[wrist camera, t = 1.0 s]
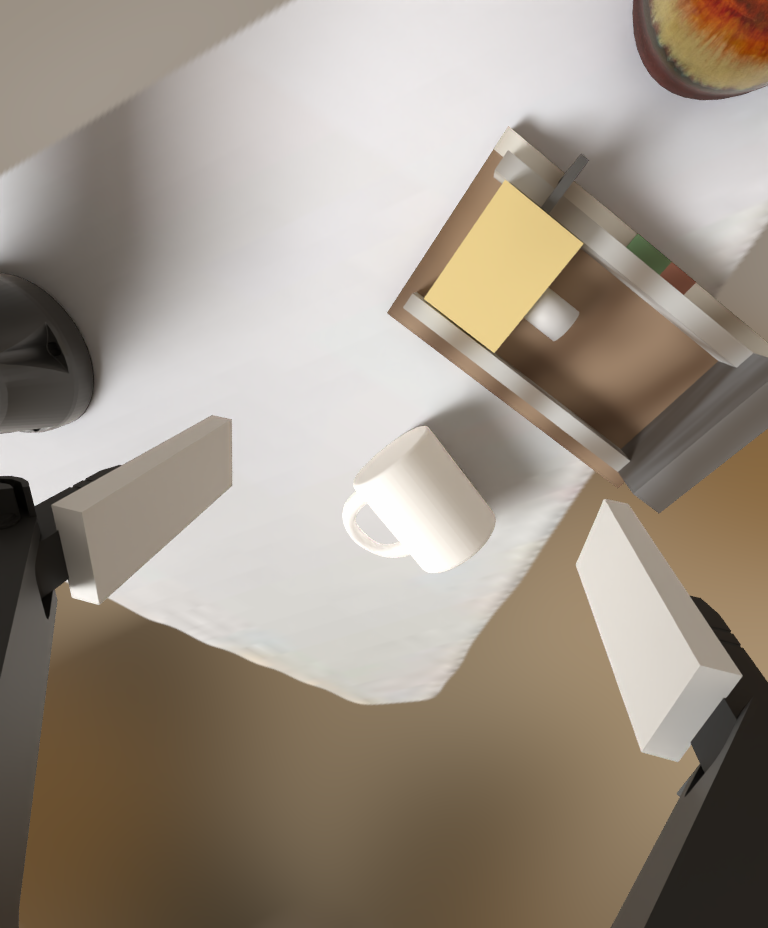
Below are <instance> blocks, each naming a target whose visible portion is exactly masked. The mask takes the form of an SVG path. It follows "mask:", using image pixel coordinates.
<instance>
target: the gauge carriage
mask: <svg viewBox="0 0 768 928" xmlns="http://www.w3.org/2000/svg"><path fill="white" fill-rule="evenodd" d="M588 161H589V160H588V159H587V158H586V157H584V156H583V155H582V154H580V156H579V157H578V158H577V159H576V161H575V162H574V164H573V165H572V166H571V167H570V168H569V169H568V170H567V171H566V172H565V174H564V175H563V176H562V178H561V179H560V180H559V182H558V183H559V184H558V185H557V186H556V188H555V189H554V191H553V192H552V193H551V195H550V196H549V197H548V199H547V200H546V201H545V203H544V204H543V205H542V207H541V208H539V207H538V206H537V205H536V204H535V203H533V202H532V201H531V200H530V199H528V198H527V197H526V196H525V195H524V194H522V193H521V192H520V191H519V190H517V189H516V188H515V187H514V186H513V185H511V184H510V183H509V182H508V181H506V180H505V181H504V182H503V184H502V185H501V186H500V188H499V189H498V191H497V192H496V194H495V195H494V197H493V198H492V200H491V201H490V203H489V204H488V205H487V207H486V208H485V210H484V211H483V213H482V214H481V216H480V217H479V219H478V220H477V222H476V223H475V224H474V226H473V227H472V229H471V230H470V232H469V233H468V235H467V236H466V238H465V239H464V241H463V242H462V244H461V245H460V246H459V248H458V249H457V251H456V252H455V254H454V255H453V257H452V258H451V260H450V261H449V263H448V264H447V265H446V267H445V268H444V270H443V271H442V273H441V274H440V276H439V277H438V279H437V280H436V282H435V283H434V285H433V286H432V287H431V289H430V290H429V292H428V293H427V295H426V296H425V298H424V299H425V300H426V301H427V302H428V303H430V304H431V305H432V306H434V307H435V308H436V309H438V310H439V311H440V312H441V313H443V314H444V315H445V316H447V317H448V318H449V319H451V320H452V321H453V322H454V323H456V324H457V325H458V326H460V327H461V328H462V329H464V330H465V331H466V332H467V333H469V334H470V335H471V336H473V337H474V338H475V339H476V340H478V341H479V342H480V343H482V344H483V345H484V346H486V347H487V348H488V349H489V350H491V351H492V352H493V353H495V352H496V350H497V349H498V348H499V347H500V346H501V344H502V343H503V342H504V341H505V339H506V338H507V337H508V336H509V335H510V333H511V332H512V331H513V330H514V328H515V327H516V326H517V325H518V324H519V322H520V321H521V320H522V319H523V318H524V319H526V320H527V321H528V322H530V323H531V324H532V325H533V326H535V327H536V328H537V329H538V330H540V331H541V332H542V333H544V334H545V335H546V336H547V337H549V338H550V339H551V340H552V341H556V340H558V339H559V338H560V337H561V336H563V335H564V334H565V333H566V332H567V331H568V329H569V328H570V327H571V326H572V325H573V323H574V322H575V321H576V319H577V318H578V316H579V311H577V310H576V309H575V308H574V307H572V306H571V305H570V304H569V303H567V302H566V301H565V300H564V299H562V298H561V297H560V296H559V295H557V294H556V293H555V292H554V291H552V290H551V289H550V288H549V286H550V284H551V283H552V282H553V281H554V280H555V278H556V277H557V276H558V275H559V273H560V272H561V271H562V270H563V268H564V267H565V266H566V265H567V264H568V262H569V261H570V260H571V259H572V257H573V256H574V255H575V254H576V253H577V251H578V250H579V249H580V248H581V246H582V245H583V243H582V242H581V241H580V240H579V239H577V238H576V237H575V236H574V235H572V234H571V233H570V232H569V231H568V230H566V229H565V228H564V227H563V226H561V225H560V224H559V223H558V222H557V221H555V220H554V219H553V218H552V217H550V216H549V215H548V214H549V213H550V212H551V210H552V209H553V208H554V206H555V205H556V204H557V202H558V201H559V200H560V198H561V197H562V196H563V194H564V193H565V192H566V190H567V189H568V188H569V186H570V185H571V184H572V182H573V181H574V180H575V179H576V177H577V176H578V175H579V173H580V172H581V171H582V169H583V168H584V167H585V165H586V164H587V163H588Z"/></svg>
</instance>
